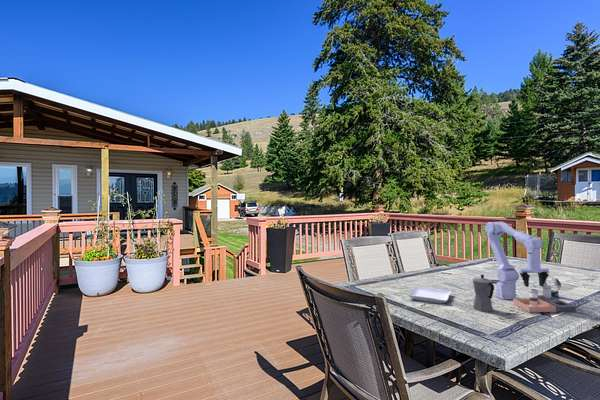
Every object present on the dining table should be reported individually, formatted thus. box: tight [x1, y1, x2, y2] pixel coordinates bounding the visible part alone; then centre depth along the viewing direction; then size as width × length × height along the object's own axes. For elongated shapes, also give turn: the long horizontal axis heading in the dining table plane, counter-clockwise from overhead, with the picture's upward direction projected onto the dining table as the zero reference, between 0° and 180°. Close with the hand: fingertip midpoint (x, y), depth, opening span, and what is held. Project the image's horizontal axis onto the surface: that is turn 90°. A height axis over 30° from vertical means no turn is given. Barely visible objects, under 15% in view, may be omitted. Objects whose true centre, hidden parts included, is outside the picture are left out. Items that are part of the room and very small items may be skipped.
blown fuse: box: [528, 288, 539, 306], centre depth 178 cm, size 4×4×9 cm
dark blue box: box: [544, 276, 562, 299], centre depth 197 cm, size 6×8×11 cm
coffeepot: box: [472, 274, 495, 313], centre depth 178 cm, size 15×9×18 cm, turn 6°
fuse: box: [542, 284, 552, 299], centre depth 187 cm, size 4×4×9 cm
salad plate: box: [407, 286, 453, 304], centre depth 200 cm, size 21×21×3 cm
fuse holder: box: [538, 294, 577, 313], centre depth 182 cm, size 8×20×2 cm, turn 179°
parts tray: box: [512, 298, 557, 314], centre depth 178 cm, size 13×13×3 cm
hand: (534, 286), depth 182 cm, fingers open, 7 cm apart
